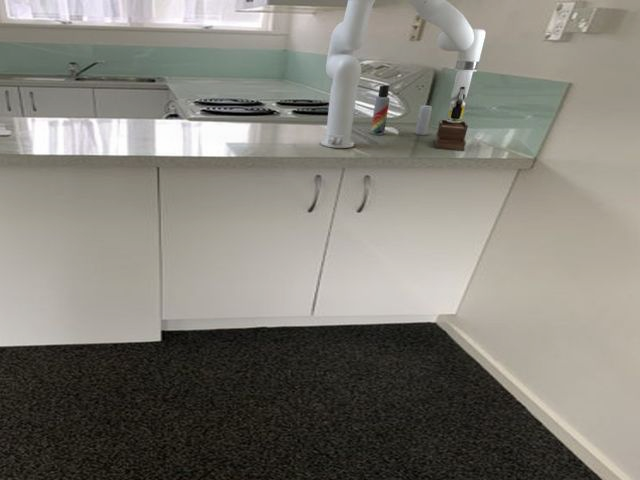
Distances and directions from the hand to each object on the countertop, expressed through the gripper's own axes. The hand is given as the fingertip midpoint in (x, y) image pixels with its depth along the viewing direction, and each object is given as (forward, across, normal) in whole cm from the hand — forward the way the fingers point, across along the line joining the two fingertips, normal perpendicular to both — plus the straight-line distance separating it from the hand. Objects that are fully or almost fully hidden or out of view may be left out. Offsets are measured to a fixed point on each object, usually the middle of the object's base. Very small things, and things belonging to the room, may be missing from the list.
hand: (454, 116), depth 164 cm
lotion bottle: (+11, -8, -29) cm, 32 cm away
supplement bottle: (+2, 0, 0) cm, 2 cm away
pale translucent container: (+11, -16, -11) cm, 22 cm away
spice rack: (+11, +3, 0) cm, 11 cm away
